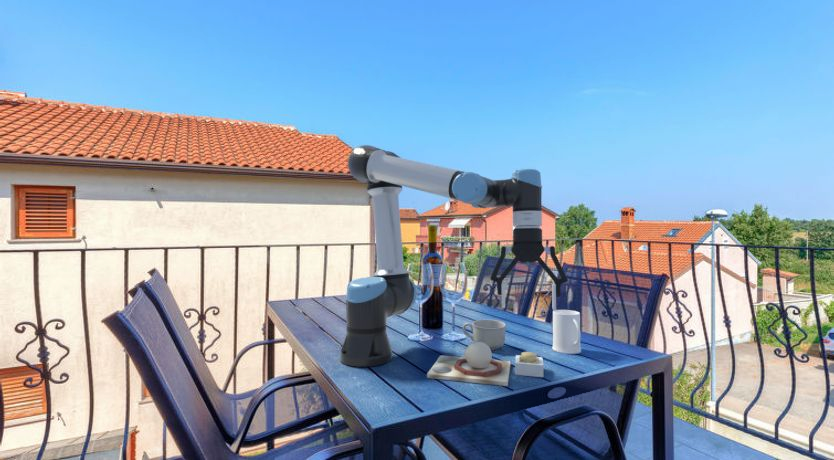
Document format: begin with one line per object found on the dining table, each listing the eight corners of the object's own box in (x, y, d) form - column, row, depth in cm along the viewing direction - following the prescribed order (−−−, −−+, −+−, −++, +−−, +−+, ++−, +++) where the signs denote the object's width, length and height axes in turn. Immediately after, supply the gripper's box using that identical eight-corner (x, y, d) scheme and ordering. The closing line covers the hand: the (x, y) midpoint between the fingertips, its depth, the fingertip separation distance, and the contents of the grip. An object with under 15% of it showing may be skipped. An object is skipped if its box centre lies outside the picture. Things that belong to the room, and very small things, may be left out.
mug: (591, 357, 114) (591, 316, 114) (563, 357, 114) (562, 317, 114) (573, 346, 126) (573, 309, 126) (548, 346, 126) (547, 309, 126)
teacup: (509, 345, 127) (508, 320, 127) (501, 354, 117) (501, 327, 117) (468, 340, 133) (468, 317, 133) (458, 348, 123) (458, 323, 123)
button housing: (515, 374, 100) (515, 363, 100) (515, 365, 106) (515, 355, 106) (543, 377, 98) (543, 365, 98) (542, 368, 104) (542, 357, 105)
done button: (521, 361, 101) (521, 355, 101) (521, 357, 105) (521, 351, 105) (537, 363, 100) (537, 356, 100) (536, 358, 104) (536, 352, 104)
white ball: (467, 362, 106) (467, 337, 107) (494, 365, 104) (494, 340, 104) (461, 369, 100) (461, 344, 100) (488, 373, 97) (488, 347, 98)
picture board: (426, 377, 97) (426, 370, 98) (440, 358, 113) (440, 352, 113) (507, 386, 92) (507, 378, 92) (510, 364, 107) (510, 358, 107)
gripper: (479, 228, 103) (480, 308, 102) (578, 226, 96) (579, 313, 95) (482, 228, 110) (483, 304, 109) (574, 227, 103) (576, 307, 102)
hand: (528, 308), depth 102 cm, fingers open, 12 cm apart
